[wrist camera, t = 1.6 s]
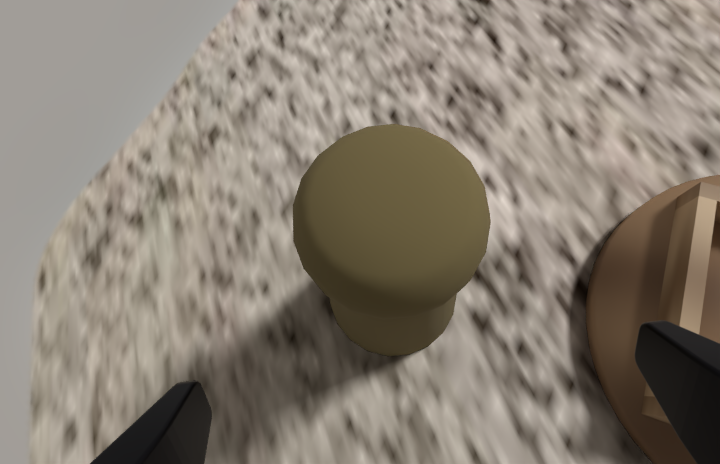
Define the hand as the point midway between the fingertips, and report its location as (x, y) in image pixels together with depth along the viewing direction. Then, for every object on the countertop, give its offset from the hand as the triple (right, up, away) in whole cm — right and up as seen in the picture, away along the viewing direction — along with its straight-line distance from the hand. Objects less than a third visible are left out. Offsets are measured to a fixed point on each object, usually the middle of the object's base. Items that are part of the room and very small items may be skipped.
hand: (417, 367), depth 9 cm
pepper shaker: (0, 0, +12) cm, 12 cm away
